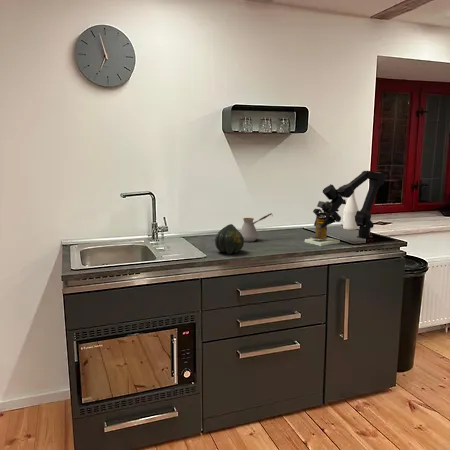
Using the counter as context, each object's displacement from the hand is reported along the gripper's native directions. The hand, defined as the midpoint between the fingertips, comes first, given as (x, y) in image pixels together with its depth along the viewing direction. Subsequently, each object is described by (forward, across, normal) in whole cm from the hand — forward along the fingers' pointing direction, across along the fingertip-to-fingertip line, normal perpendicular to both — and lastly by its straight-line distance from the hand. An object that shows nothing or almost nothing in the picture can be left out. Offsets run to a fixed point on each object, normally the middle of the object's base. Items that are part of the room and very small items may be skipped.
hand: (317, 226), depth 242 cm
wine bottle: (-25, -27, +40) cm, 54 cm away
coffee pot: (+24, -25, -11) cm, 37 cm away
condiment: (+4, 0, +6) cm, 7 cm away
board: (+4, 0, +9) cm, 10 cm away
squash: (+44, -4, -31) cm, 54 cm away
